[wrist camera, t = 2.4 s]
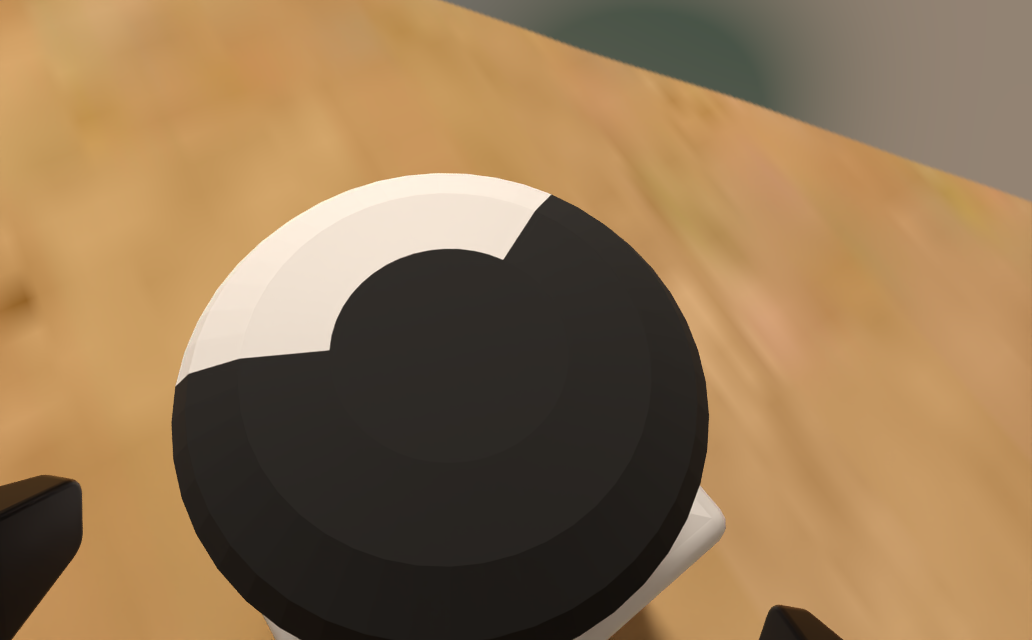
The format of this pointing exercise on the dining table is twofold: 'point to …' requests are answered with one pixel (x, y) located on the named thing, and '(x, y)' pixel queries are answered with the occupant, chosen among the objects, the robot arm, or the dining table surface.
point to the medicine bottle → (445, 420)
